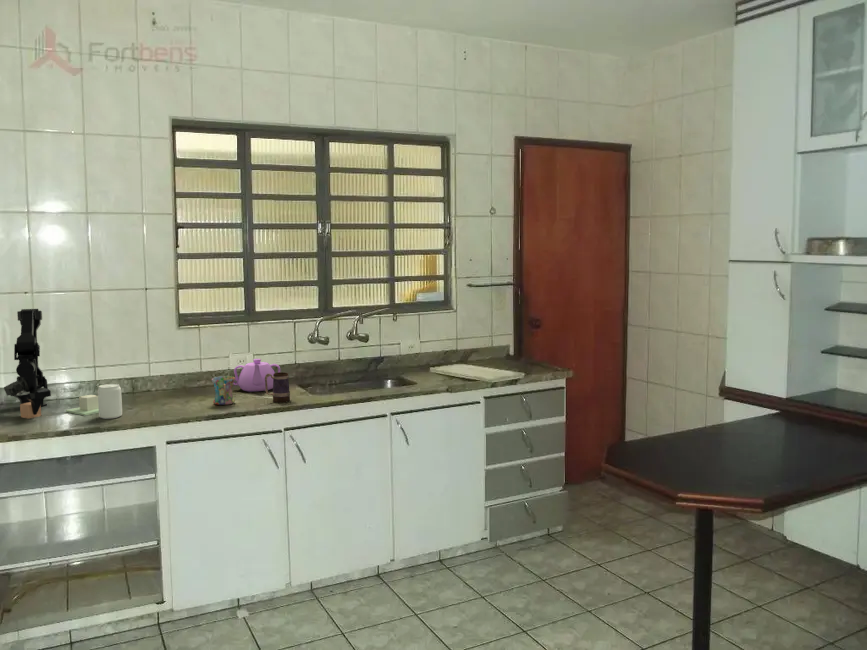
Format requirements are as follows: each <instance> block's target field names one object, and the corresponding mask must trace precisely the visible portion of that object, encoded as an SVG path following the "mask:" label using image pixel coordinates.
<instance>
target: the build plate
mask: <svg viewBox="0 0 867 650" xmlns="http://www.w3.org/2000/svg"><path fill="white" fill-rule="evenodd" d="M65 412H66V413H69V414H75V415H79V416H85V417H86V416H90V415H95V414H99V409H94V410H90V411H85V410H80V406H78V407H75V408H70V409H66V410H65Z"/></svg>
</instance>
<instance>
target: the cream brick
mask: <svg viewBox="0 0 867 650" xmlns="http://www.w3.org/2000/svg"><path fill="white" fill-rule="evenodd" d="M78 399H79V402H78V404H79V407H80V410H85V411H90V410H94V409H99V407H98V395H96V394H87V395H81V396H79V397H78Z"/></svg>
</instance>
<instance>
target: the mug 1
mask: <svg viewBox="0 0 867 650" xmlns="http://www.w3.org/2000/svg"><path fill="white" fill-rule="evenodd" d="M235 379H236V378H235V377H234V376H230V375H228V376H227V375H223V376H222V375H220V376H215V377H212V378H211V382H212V384H213V386H214V392H215V394H214V399H213V404H215V405H216V406H217V405H218V406H227V405H231V404H234V403H235V401H236V400H235V399H234V395H233V387H234V385H233V383H234V382H235V381H234V380H235Z"/></svg>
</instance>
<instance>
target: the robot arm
mask: <svg viewBox="0 0 867 650" xmlns="http://www.w3.org/2000/svg"><path fill="white" fill-rule="evenodd" d="M16 314H17V321H18V322H19V324H20V327H21V328H20V335H19V336H17V338H16V343H14V344H13V345H14V346H13V347H14V351H13V353H14V354H13V355H14V356H13V357H14V359H13V360H14V361H18V365H17V366H16V374H17V375H18V376H17V377H16V381H13V382H11V383H10V384H7V385H6V386H4V387H3V390H4V392H5V393H6V396H10V397H14V398H17V399H18V400H19V402H20V404H24V403H29V402H31V406H32V411H33V415H36V414H37V412H38V410H39V408H40V406H41V407H45V406H47V405H48V404H47V403H44V400H45V398H47V397H51V396H52V392H51V389H50V388H49V386H48V385H49V384H48V380H47V379H46V376H44V372H43V371H42V370H41V368H40V367H39V357H41V356H40V354H41V353H40V352H41V349H40V348H41V346H40V344H39V343H38V335H37V334H38V332H37V331H38V330H39V328H40V326H41V323H42V322H41V321H43V311H42V310H39V308H24V309H23V308H21V309H20V310H19V311H17V313H16Z"/></svg>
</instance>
